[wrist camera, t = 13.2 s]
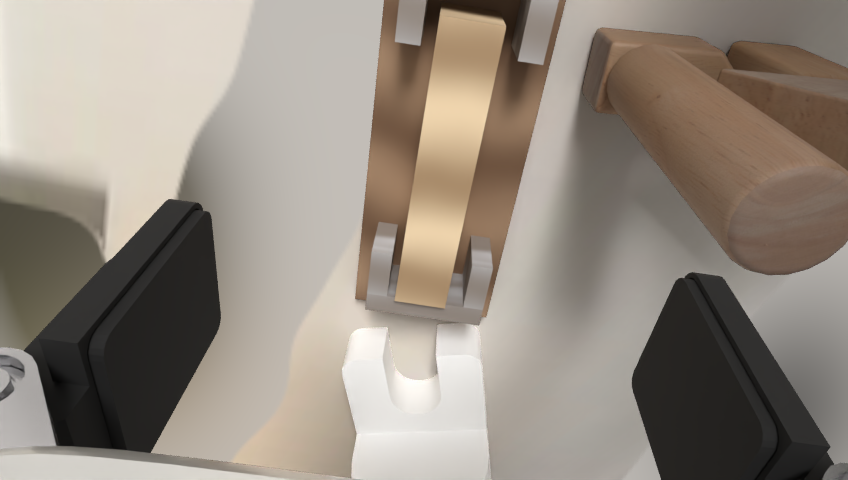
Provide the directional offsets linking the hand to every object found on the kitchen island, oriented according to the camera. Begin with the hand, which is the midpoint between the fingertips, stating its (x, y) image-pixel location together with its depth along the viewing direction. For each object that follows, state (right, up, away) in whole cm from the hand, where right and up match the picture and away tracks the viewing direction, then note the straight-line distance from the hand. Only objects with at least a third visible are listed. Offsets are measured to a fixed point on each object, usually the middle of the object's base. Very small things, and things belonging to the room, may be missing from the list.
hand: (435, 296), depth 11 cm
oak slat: (+1, +6, +21) cm, 22 cm away
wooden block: (+14, +10, +19) cm, 26 cm away
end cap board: (+1, +7, +22) cm, 23 cm away
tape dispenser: (0, -12, +34) cm, 36 cm away
